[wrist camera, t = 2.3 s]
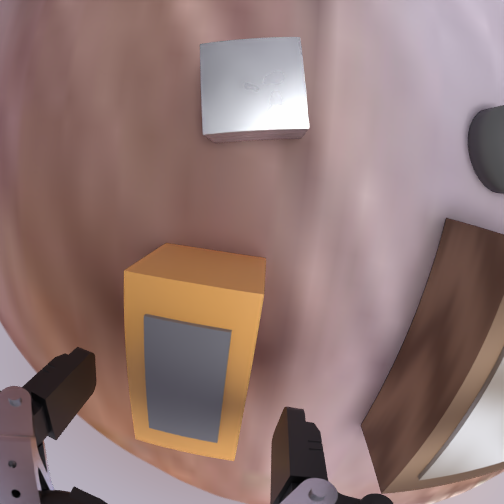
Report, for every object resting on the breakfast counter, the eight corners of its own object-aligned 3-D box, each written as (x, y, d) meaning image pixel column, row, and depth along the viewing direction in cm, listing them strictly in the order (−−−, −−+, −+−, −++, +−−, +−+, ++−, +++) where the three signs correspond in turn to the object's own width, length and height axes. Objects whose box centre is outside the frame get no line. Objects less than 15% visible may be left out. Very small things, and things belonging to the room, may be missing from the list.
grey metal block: (212, 67, 13) (200, 44, 10) (294, 62, 13) (299, 37, 10) (216, 143, 14) (202, 134, 11) (301, 138, 14) (309, 128, 11)
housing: (167, 242, 15) (121, 272, 10) (266, 257, 15) (264, 296, 10) (162, 384, 17) (134, 441, 12) (242, 399, 17) (233, 463, 12)
